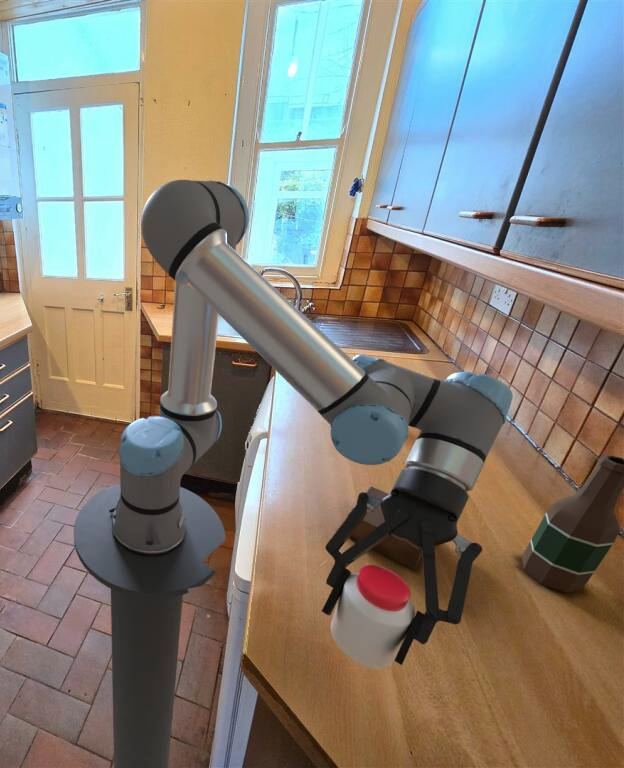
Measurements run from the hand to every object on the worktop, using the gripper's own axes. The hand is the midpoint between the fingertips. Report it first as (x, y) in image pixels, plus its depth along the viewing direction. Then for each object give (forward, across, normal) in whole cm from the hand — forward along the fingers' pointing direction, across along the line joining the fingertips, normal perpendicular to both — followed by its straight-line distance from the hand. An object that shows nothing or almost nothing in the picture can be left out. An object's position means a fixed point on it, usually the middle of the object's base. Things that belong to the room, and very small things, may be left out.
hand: (360, 636), depth 51 cm
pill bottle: (+1, 0, -5) cm, 5 cm away
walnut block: (-18, +5, -31) cm, 36 cm away
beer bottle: (-25, -17, -38) cm, 49 cm away
